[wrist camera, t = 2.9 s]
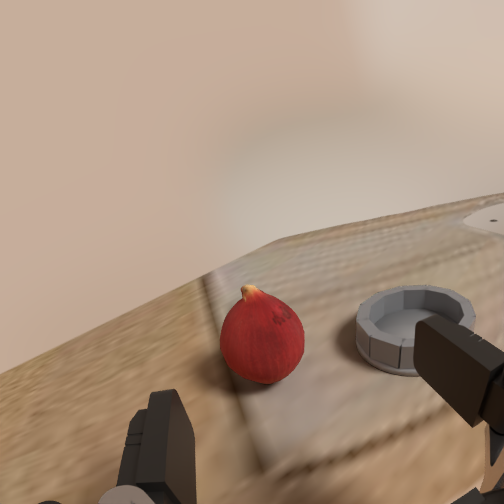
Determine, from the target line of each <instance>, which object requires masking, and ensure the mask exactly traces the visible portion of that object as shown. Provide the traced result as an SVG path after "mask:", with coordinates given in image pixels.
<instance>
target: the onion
mask: <svg viewBox="0 0 504 504" xmlns="http://www.w3.org/2000/svg"><path fill="white" fill-rule="evenodd" d="M241 292H242V299H241V300H239V301H238V302H237V303H236V304H235V305H234V306H233V307H232V309H231V310H230V311H229V312H228V314H227V316H226V318H225V320H224V323H223V326H222V330H221V335H220V349H221V351H222V354H223V356H224V359H225V361H226V363H227V365H228V366H229V367H230V368H231V369H232V370H233V371H234V372H235V373H237V374H238V375H240V376H241V377H243V378H245V379H248V380H252V381H256V382H259V383H264V384H272V383H274V382H277V381H280V380H282V379H283V378H285V377H286V376H288V375H289V374H290V373H291V372H292V371H293V370H294V369H295V368H296V366H297V365H298V363H299V362H300V360H301V358H302V356H303V353H304V330H303V326H302V323H301V321H300V319H299V318H298V316H297V315H296V313H295V312H294V311H293V310H292V309H291V308H290V307H289V306H288V305H286V304H285V303H284V302H282V301H281V300H279V299H277V298H276V297H274V296H271V295H269V294H266V293H264V292H263V291H261V290H259V289H257V288H256V287H255V286H254V285H245V286H243V287H242V288H241Z"/></svg>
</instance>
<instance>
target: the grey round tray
mask: <svg viewBox="0 0 504 504" xmlns="http://www.w3.org/2000/svg"><path fill="white" fill-rule="evenodd" d="M434 314H438V315H440V316H441V317H443V318H444V319H446V320H447V321H449V322H452V323H456V324H459V325H462V326H465V327H466V328H468V329H469V330H471V331H472V332H474V326H475V319H476V315H475V312H474V309H473V307H472V304H471V302H470V301H469V300H468V299H466V298H465V297H463V296H461V295H460V294H458V293H456V292H455V291H453V290H452V291H451V290H450V289H445V288H440V287H435V286H430V285H428V286H427V285H413V286H402V287H401V286H399V287H395V288H392V289H388V290H385V291H381V292H377V293H376V294H374V295H373V296H371V297H370V298H368V299H367V300H366V301H364V302H363V303H361V304H360V306H359V310H358V314H357V318H356V346H357V349H358V352H359V353H360V355H361V356H362V357H363V359H364V360H366V361H367V362H368V363H369V364H371V365H372V366H374V367H376V368H378V369H380V370H382V371H385V372H388V373H392V374H396V375H403V376H420V375H419V374H418V373H417V371H416V369H415V367H414V363H413V352H414V338H415V326H416V323H417V322H418V321H420V320H422V319H425V318H427V317H430V316H432V315H434Z"/></svg>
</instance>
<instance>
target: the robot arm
mask: <svg viewBox="0 0 504 504" xmlns="http://www.w3.org/2000/svg"><path fill="white" fill-rule="evenodd" d="M413 363H414V367H415V369H416V371H417V373H418V374H419V375H420V376H421V377H422V378H423V379H424V380H425V381H426V382H427V383H428V384H429V385H430V386H431V387H432V388H433V389H434V390H435V391H436V392H437V393H438V394H439V395H440V396H441V397H442V398H443V399H444V400H445V401H446V402H447V403H448V404H449V405H450V406H451V407H452V408H453V409H454V410H455V411H456V412H457V413H458V414H459V415H460V416H461V417H462V418H463V419H464V420H465V421H466V422H467V423H468V424H469V425H470V426H471V427H472V428H473V427H475V426H476V425H478V424H479V423H480V422H482V421H483V420H484V421H486V422H487V424H486V427H485V475H484V479H483V482H482V485H481V488H480V491H478V489H477V488H476V487H475V488H474V489H472V490H471V491H469V492H468V493H466V494H465V495H464V496H462V497H461V498H459V499H457V500H456V501H454V502H453V503H451V504H504V352H503V351H501V350H500V349H498V348H497V347H495V346H494V345H492V344H491V343H489V342H488V341H486V340H485V339H482V337H480V336H479V335H477V334H474V332H472V331H471V330H469V329H468V328H466V327H465V326H462V325H459V324H456V323H452V322H449V321H447V320H446V319H444V318H443V317H441V316H440V315H438V314H434V315H432V316H430V317H427V318H425V319H422V320H420V321H418V322H417V323H416V326H415V338H414V352H413ZM127 435H128V437H126V442H125V447H124V451H123V456H122V460H121V465H120V470H119V475H118V480H117V485H116V487H114V488H112V489H110V490H108V491H107V492H106V493H105V494H104V495H103V496H102V497H101V498H100V500H99V502H98V504H197V499H196V470H195V437H194V432H193V428H192V425H191V422H190V420H189V418H188V415H187V413H186V411H185V409H184V406H183V404H182V402H181V399H180V397H179V395H178V393H177V391H176V390H175V389H170V390H164V391H157V392H152V393H151V394H150V398H149V403H148V408H147V409H142V410H138V412H137V413H136V414H135V416H134V417H133V418H132V420H131V421H130V424H129V429H128V433H127ZM39 504H61V503H59V502H56V501H44V502H41V503H39Z"/></svg>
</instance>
